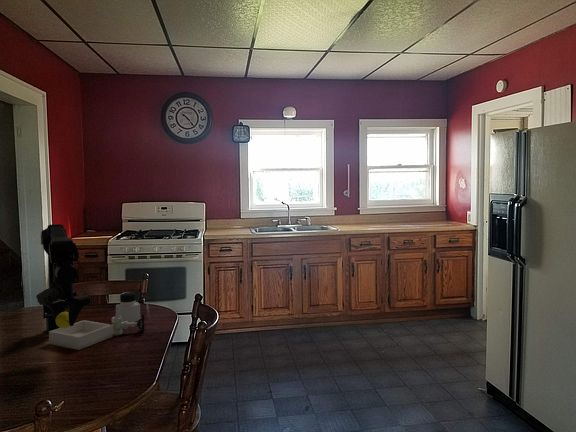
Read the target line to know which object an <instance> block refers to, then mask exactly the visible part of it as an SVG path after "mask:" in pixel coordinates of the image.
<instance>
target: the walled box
mask: <svg viewBox="0 0 576 432" xmlns="http://www.w3.org/2000/svg"><path fill="white" fill-rule="evenodd" d="M113 337H114V335H113V326H112V324H110V323H103V322H96V321H93V320H91V321H90V320H85V319H83V320H81V321H78V322H75V323H74V325H73V326H69V327H67V328H58V329H55V330H52V331H49V333H48V342H49V343H48V344H49V345H53V346H57V347H63V348H68V349H71V350H77V351H80V350H82V349H86V348H88V347H91V346H93V345H95V344H98V343H100V342H102V341H105V340H106V341H107V339H111V338H113Z"/></svg>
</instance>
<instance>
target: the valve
mask: <svg viewBox="0 0 576 432" xmlns="http://www.w3.org/2000/svg"><path fill="white" fill-rule="evenodd" d="M140 317H141V319H139V320H138V321H136V322H131V323H129V322H127V321H124V322H122V317H121V316H116V315H115V316H113V317H111V325H112V326H113V336H120V335H122V334H124V333H123V332H124V331H123V329H125V330H126V329H128V328H130V327H131V328H133V327H135V326H137V327H138V328H139V329H140V330H141V332H145V314H140Z"/></svg>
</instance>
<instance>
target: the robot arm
mask: <svg viewBox="0 0 576 432" xmlns="http://www.w3.org/2000/svg"><path fill="white" fill-rule="evenodd" d="M67 232H68V231H67V229H66V228H64V224H61V223H57V224H56V223H54V224H49V225H47V227H46V228H45V229H43V230H42V231H41V232H40V245H42V248H43V250H44V252H45V253H46V255H47V269H48V270H47V271H48V273H47V275H48V278H47V279H48V288H46V289H44V290H43V291H41V292H39V293H38V294H37V295H36V296H35V297H36V300H37V303H38V304H39V305H40V306H41V307H42V308H41V315H42V318H43V320H44V319H45V325H46V326H45V327H46V328H45V330H42V333H45V334H49V331H52V330H55V329H58V328H60V327H58V326H57V324H56V317H57V316H58V315H59V314H60V313H61V312H68V315H69V323H70V326H73V325H74V323H76V321H77V318H78V317H79V316H80V313H81V311H82V309H83V308H84V307H86V306H89V305H91V304H92V298H91V297H90V295H87V294H86V295H85V294H79V295H78V294H77V292H76V291H74V284H76V283H77V280H76V279H77V277H78V271H77V269H76V267H75V266H74V265H73V263H74V262H78V261H79V260H78V259H79V258H80V254H79V250H78V245H77V244H76V242H74V241H73V239H72V238H71V237H68V233H67Z"/></svg>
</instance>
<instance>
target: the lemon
mask: <svg viewBox="0 0 576 432" xmlns="http://www.w3.org/2000/svg"><path fill="white" fill-rule="evenodd" d="M56 324H57V326H58V327H60V328H67V327H69V326H70V323H69V315H68V312H61V313H60V314H59V315H58V316H57V317H56Z"/></svg>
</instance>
